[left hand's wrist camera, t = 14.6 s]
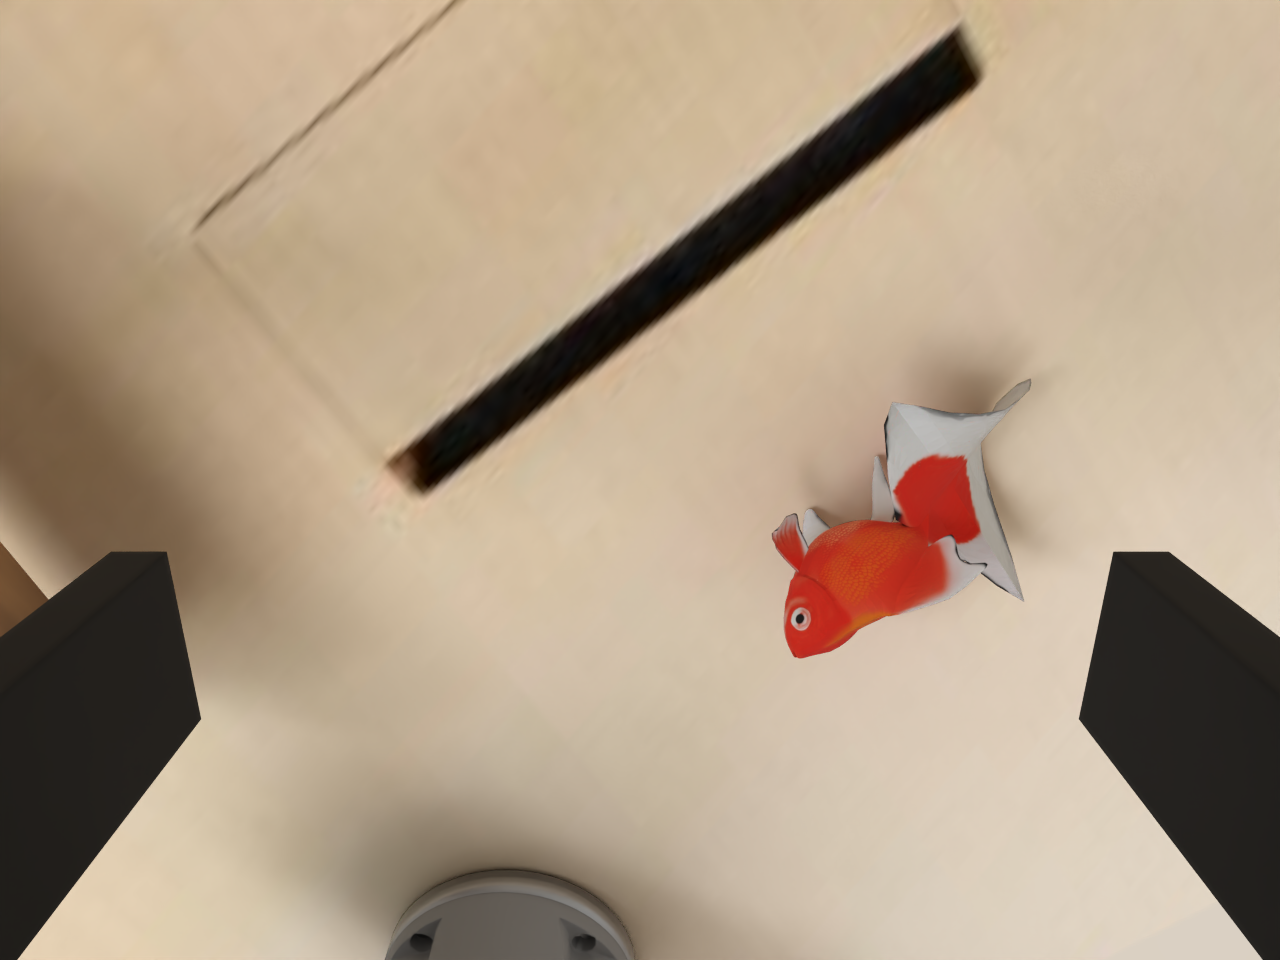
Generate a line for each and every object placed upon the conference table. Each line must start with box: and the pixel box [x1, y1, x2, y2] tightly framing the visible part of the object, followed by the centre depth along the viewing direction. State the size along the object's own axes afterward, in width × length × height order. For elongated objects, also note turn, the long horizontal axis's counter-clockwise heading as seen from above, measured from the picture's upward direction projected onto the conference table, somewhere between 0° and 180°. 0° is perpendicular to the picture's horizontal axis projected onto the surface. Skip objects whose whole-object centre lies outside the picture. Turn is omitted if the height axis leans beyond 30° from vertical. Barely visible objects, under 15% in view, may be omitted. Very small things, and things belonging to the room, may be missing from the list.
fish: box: [772, 379, 1031, 658], centre depth 40 cm, size 11×16×10 cm
